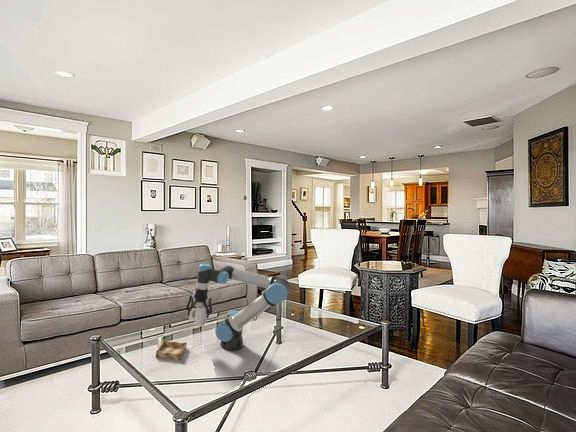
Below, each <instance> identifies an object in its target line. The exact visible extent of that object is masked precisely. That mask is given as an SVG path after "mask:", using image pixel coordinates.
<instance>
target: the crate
mask: <svg viewBox="0 0 576 432" xmlns="http://www.w3.org/2000/svg"><path fill="white" fill-rule="evenodd" d="M187 343H188V342H186V341H185V342H180V341H171V340H166V339H163V341H162V343H161V344H160V345H159V347H158V348H157V350H156V353H155V358H160V359H169V360H178V361H181V359H182V357H183V355H184V354H185V351H186V349H187Z"/></svg>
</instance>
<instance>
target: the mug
mask: <svg viewBox="0 0 576 432" xmlns="http://www.w3.org/2000/svg"><path fill="white" fill-rule="evenodd" d="M191 310H192V311H191V313H190V316H191V321H194V325H195V326H197V327H203V326H205V315H206V308H205V307H204V304H203V303H202V304H201V303H200V304H197V305H196V306H195V307H193V308H192V309H191ZM194 311H195V317H193V312H194Z"/></svg>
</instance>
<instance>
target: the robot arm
mask: <svg viewBox="0 0 576 432" xmlns="http://www.w3.org/2000/svg"><path fill="white" fill-rule="evenodd" d="M229 280H232V281H236V282H240V283H244V284H249V285H252V286H257V287H259V288H264V289H263V290H262V291H261V295H260V296H258V297H257V298H255V299H254V300H253V301H252V302H250V303H249V304H248V305H246V306H245V307H243V308H242V309H241V310H240V311H238V310H229V311H227V313H226V317H225V318H224V319H223V320H222V321H220V323H218V324H217V326H216V327H215V336H216V337H217V339H218V340H219V341H220V342H219V344H220V347H221V348H222V349H224V350H227V351H233V352H234V351H239V350H241V349H242V348H243V346H244V341H243V340H244V339H243V330H244V326H245V325H247V324H249V323H250V322H251V321H252V320H254V319H255V318H256V317H258V316H259V315H260V314H262V313H263V312H264V311H266V310H267V309H269V308H270V307H271V308H274V307H276V306H277V305H279V304H281V303H282V302H284V301H285V299H286V297H287V296H288V295H289V294H290V292H291V284H290V282H289V281H288V280H287V279H286V278H283V277H280V276H276V275H272V276H268V275H264V274H260V273H255V272H252V271H247V270H243V269H238V268H235V267H234V266H232V265H225V266H224V267H222V268H220V269H214V268H212V265H211V264H209V263H201V264H199V266H198V271H197V279H196V286H195V287H196V288H195V293H194V294H190V296H189V300H188V302H187V305H186V307H185V310H186V311H187V312H188V313H187V316H188V322H191V321H192V319H191V316H190V313H191V311H192V309H193V308H194V307H195V305H196V304H197V303H200V304H201V303H202V304H203V305H204V307H205V308H206V315H205V324H207V322H208V321H207V320H208V319H209V316H210V314H212V313H213V305H212V301H213V297H212V296H211V297H209V296H208V292H209V285H210V282H213V283H216V284H220V285H222V284H223V285H226V284H227V283H228V281H229ZM193 299H195V301H194V302H193V303H192V300H193ZM207 301H208V304H207ZM191 303H192V304H191ZM208 305H209V306H208Z"/></svg>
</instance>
